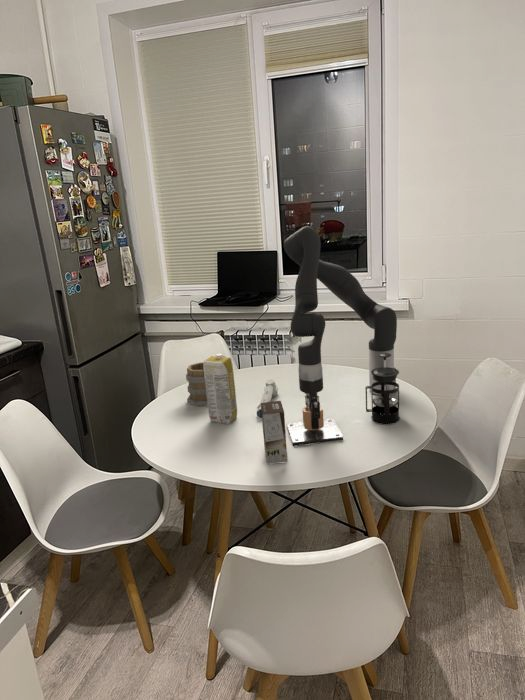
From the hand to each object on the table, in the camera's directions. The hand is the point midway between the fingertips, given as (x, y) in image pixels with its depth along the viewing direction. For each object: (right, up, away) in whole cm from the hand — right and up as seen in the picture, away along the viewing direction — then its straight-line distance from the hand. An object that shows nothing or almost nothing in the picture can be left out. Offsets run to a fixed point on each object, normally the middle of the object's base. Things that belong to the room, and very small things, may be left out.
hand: (313, 423), depth 168 cm
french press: (+25, +1, +8) cm, 26 cm away
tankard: (-36, +5, +39) cm, 53 cm away
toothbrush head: (-14, +3, +27) cm, 31 cm away
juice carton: (-30, -1, +17) cm, 35 cm away
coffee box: (-12, -8, -11) cm, 19 cm away
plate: (0, -3, +1) cm, 3 cm away
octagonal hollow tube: (0, -1, 0) cm, 1 cm away
